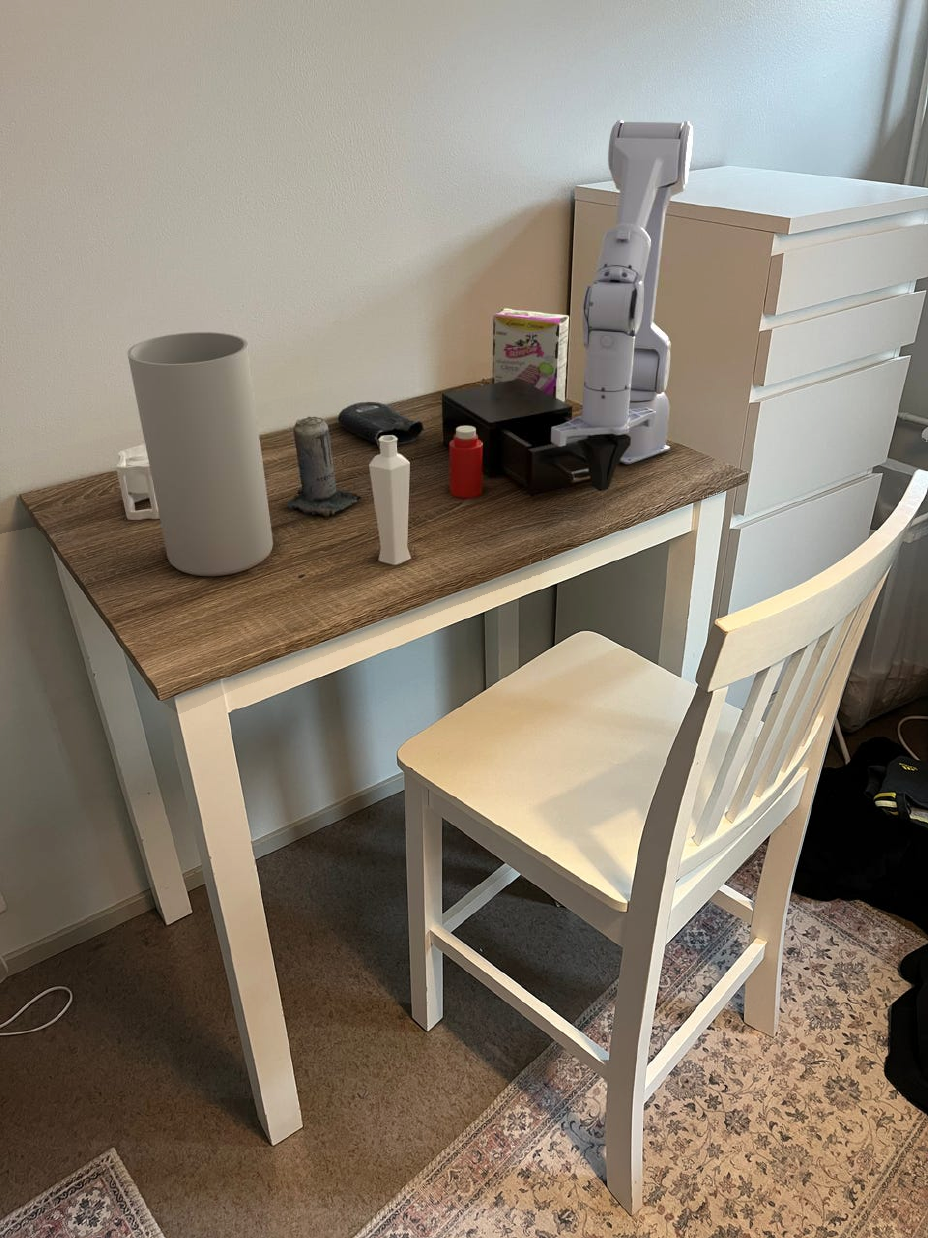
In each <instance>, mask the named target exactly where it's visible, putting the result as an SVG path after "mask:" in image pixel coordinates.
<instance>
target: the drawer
mask: <svg viewBox="0 0 928 1238" xmlns="http://www.w3.org/2000/svg"><path fill="white" fill-rule="evenodd" d="M572 419H573V418H572ZM572 419H570V418H568V417H567V416H565V415H563V414H557V415H552V416H547V417H542V418H537V419H532V420H527V421H522V422H517V423H512V424H507V425H502V426H497V427H494V428H495V435H494V465H495V466H496V467H498V468H499V469H501V470H502V471H503V472H505V473H506V475H508V477H511V478H512V479H514V480H515V481H516V482H518V483H520V484H521V485H523V486H524V487H526V495H528V496H529V497H535V496H539V495H544V494H548V493H553V492H556V491H561V490H566V489H569V488H573V487H577V486H578V487H579V486H581V485H586V484H591V480H590V475H589V470H588V466H587V462H586V459H585V456H584V454H583V452H582V449H581V447H580V445H579V443H578V442H577V441H573V442H568V443H566V445H565V446H561V447H559V446H557V445H555V444H554V443H552V442H551V427H554V426H558V425H561V424H564V423H566V422H568V421H570V420H572Z"/></svg>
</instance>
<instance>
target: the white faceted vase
mask: <svg viewBox="0 0 928 1238" xmlns="http://www.w3.org/2000/svg"><path fill="white" fill-rule="evenodd" d="M397 440H398V439H397V438H396V437H395V436H394V435H388V436H381V437H380V438H379V441H380V449H379V452H380V453H379V454H377V455H374V457H373V458H372V460H371V461H370V462H369V464H368V469H369V474H370V482H371V490H372V495H373V496H372V497H373V503H374V511H375V518H376V523H377V530H378V531H377V532H378V538H379V545H380V550H379V555H378V561H379V562H381V563H386V564H390V565H393V566H397V565H399V564H402V563H404V562H406V561H409V560H411V559H412V558H411V554H410V551H409V547H408V534H409V533H408V527H409V502H410V501H409V500H410V499H409V497H410V469H411V467H410V466H411V463H410V461H409V460H408V459H407V458H406V457H405V456H404V455H402V454H401V453H399V452H398V447H397V446H398V445H397Z"/></svg>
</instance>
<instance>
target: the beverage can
mask: <svg viewBox="0 0 928 1238" xmlns="http://www.w3.org/2000/svg"><path fill="white" fill-rule="evenodd" d="M292 431H293V437H294V443H295V445H294V446H295V452H296V458H297V464H298V471H299V479H300V485H301V488H298V489H297V490H296V491H297V494H296V495H294V497H293V498H292V500H288V501H287V508H289V510H293V509H298V510H301V511H302V512H303V513H304V514H306V515H308V514H312V515H316V514H318V515H321V516H324V517H328V518H330V515H334V514H335V515H336V513H338V512H339V511H341V510H343V511H344V510H345V509H346V508H349V507H350V506H352V504H354V503H355V504H356V503H357V502H359V500H360V501H363V500H362V496H359V495H358V494H357V493H355V492H352V491H346V490H342V489H337V485H336V484H337V483H336V477H335V469H334V462H333V454H332V453H333V452H332V447H331V438H330V432H329V426H328V424H327V422H326V421H325V420H324V419H323V418H322V417H317V416H308V415H307V417H306V418H302V419H300V418H298V419H296V421H295V424H294V426H293V429H292Z"/></svg>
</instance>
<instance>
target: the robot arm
mask: <svg viewBox="0 0 928 1238" xmlns="http://www.w3.org/2000/svg"><path fill="white" fill-rule="evenodd" d="M693 130H694V129H693V126H692V125H691V124H690V121H686V120H685V121H683V122H659V121H657V122H656V121H655V122H654V121H623V120H620V119H619V120H616V121H615V123H614V124H613V125H612V127H611V131H610V134H609V139H608V150H607V152H608V153H607V155H608V156H607V162H608V163H607V165H608V169H609V171H610V175H611V178H612V181H613V183H614V186H615V189H616V190H618V191H619V198H618V202H617V204H618V205H617V213H616V221H615V225H614V226H612V227H611V228H609V229H608V230H607V231H606V232H605V233H604V235H603V238H602V243H601V247H600V252H599V257H598V260H597V264H596V269H595V273H594V274H595V275H594V277H593V282H592V285H590V284H588V285H587V286H586V287H585V291H584V295H583V300H582V307H581V318H582V319H581V320H582V329H583V330H582V331H583V332H582V333H583V340H582V345H583V347H584V348H585V355H584V356H585V357H584V373H583V387H582V391H583V392H582V405H581V407H582V408H581V415H580V416H577V417H575V418H572V420H570V421H568V422H566V423H564V424H561V425H558V426H554V427H551V442H552V443H554V444H555V445H557V446H559V447H561V446H565V445H566V443H568V442H573V441H577V442H578V443H579V445H580V447H581V449H582V452H583V454H584V456H585V459H586V462H587V466H588V470H589V475H590V480H591V482H590V486H591V487H592V488H594V489H595V490H597V491H598V492H603V491H607V490H609V488H610V486H611V483H612V480H613V477H614V474H615V472H616V469H617V467H618V465H619V463H621V464H623V465H631V464H634V463H637V462H639V461H642V460H645V459H648V458H650V457H654V456H656V455H659V454H662V453H665V452H668V451H670V449H671V447H670V446H669V445H667V437H668V428H669V419H670V410H671V409H670V401H669V399H668V396H667V395H666V393H665V391H666V390H667V386H668V380H669V375H670V366H671V345H672V344H671V343H672V342H671V341H670V338H669V336H668V335H667V334H666V333H665V332H664V331H662V330H661V329H660V328H659V326H657V325H656V323H655V322H654V319H655V311H656V302H657V293H658V283H659V274H660V266H661V265H660V264H661V258H662V257H661V256H662V248H663V239H664V230H665V221H666V220H665V219H666V213H667V209H668V207H669V204H670V201H671V198H672V197H673V196H675V195H678V194H681V193H683V192H684V191H685V189H686V185H687V184H688V179H689V171H690V163H691V158H692V149H693V138H694V137H693V136H694V131H693Z"/></svg>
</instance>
